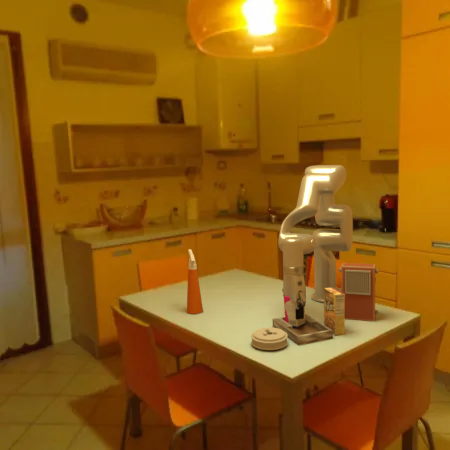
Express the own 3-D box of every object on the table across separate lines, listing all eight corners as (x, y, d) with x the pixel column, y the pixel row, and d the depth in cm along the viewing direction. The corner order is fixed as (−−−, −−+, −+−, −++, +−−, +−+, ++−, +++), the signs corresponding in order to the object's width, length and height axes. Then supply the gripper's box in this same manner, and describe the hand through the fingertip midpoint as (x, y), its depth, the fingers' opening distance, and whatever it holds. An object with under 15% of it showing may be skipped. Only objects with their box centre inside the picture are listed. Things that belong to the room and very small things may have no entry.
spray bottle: (199, 305, 211) (196, 247, 207) (204, 313, 200) (201, 252, 196) (184, 307, 209) (180, 248, 205) (188, 315, 199) (184, 253, 195)
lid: (268, 335, 175) (267, 322, 174) (295, 344, 165) (294, 330, 165) (243, 345, 166) (243, 332, 165) (271, 356, 157) (270, 341, 156)
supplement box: (306, 324, 180) (304, 294, 179) (297, 328, 176) (295, 297, 175) (293, 321, 184) (291, 292, 183) (284, 326, 179) (282, 296, 178)
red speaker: (339, 313, 193) (378, 316, 188) (337, 319, 187) (377, 322, 182) (339, 262, 190) (378, 263, 185) (337, 266, 183) (378, 268, 178)
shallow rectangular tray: (304, 320, 187) (304, 313, 187) (333, 338, 169) (332, 330, 168) (272, 326, 182) (272, 318, 182) (298, 345, 164) (297, 337, 163)
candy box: (323, 327, 179) (323, 288, 177) (334, 325, 180) (333, 286, 178) (334, 335, 171) (334, 294, 168) (345, 334, 172) (345, 293, 169)
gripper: (314, 274, 170) (314, 321, 173) (291, 264, 186) (291, 307, 189) (295, 276, 167) (296, 324, 170) (273, 266, 184) (274, 310, 186)
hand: (294, 315), depth 179 cm, fingers closed on supplement box, 8 cm apart
